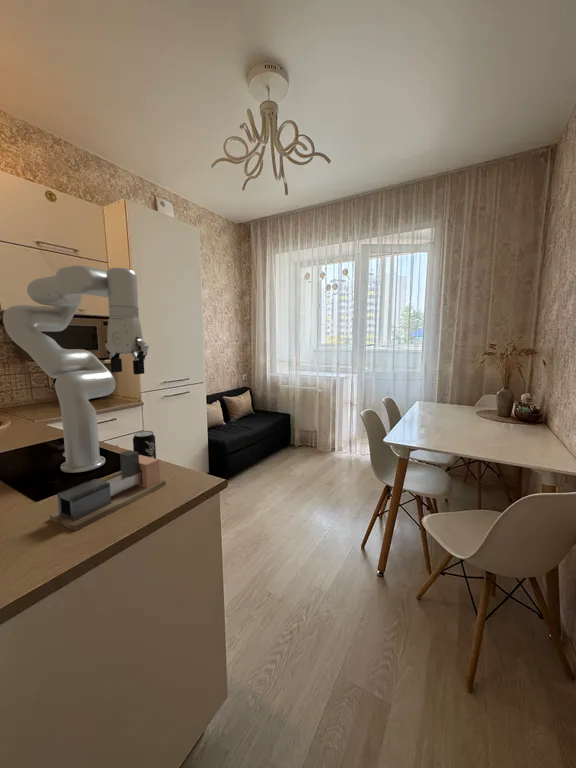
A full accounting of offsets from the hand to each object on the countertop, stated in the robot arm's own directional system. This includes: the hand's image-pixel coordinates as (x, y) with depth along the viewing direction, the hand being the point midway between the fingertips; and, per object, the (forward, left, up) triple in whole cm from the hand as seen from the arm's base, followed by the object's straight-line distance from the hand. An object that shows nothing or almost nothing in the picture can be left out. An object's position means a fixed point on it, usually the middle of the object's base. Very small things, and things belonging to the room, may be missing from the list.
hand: (127, 373), depth 94 cm
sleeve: (+8, -20, -31) cm, 38 cm away
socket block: (+8, -3, -31) cm, 32 cm away
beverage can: (-2, +6, -32) cm, 33 cm away
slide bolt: (+8, -10, -30) cm, 33 cm away
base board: (+8, -12, -32) cm, 35 cm away
